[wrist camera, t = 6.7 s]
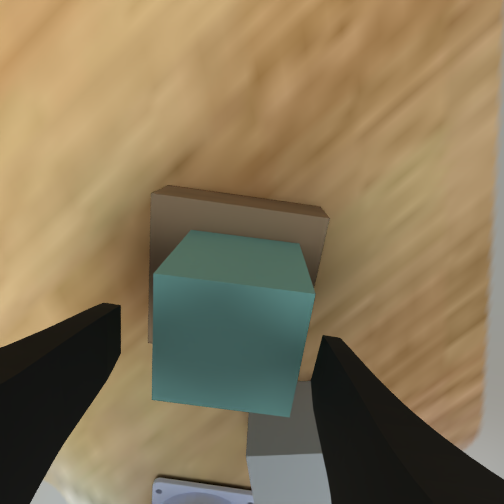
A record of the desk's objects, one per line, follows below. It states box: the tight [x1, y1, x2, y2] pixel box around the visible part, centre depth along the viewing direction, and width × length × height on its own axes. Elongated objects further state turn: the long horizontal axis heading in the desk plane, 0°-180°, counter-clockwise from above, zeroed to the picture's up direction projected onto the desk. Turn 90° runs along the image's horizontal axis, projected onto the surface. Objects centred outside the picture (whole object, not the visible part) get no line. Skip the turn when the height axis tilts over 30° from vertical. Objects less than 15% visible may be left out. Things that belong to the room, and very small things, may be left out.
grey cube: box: [246, 381, 331, 504], centre depth 19 cm, size 5×5×5 cm
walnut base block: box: [148, 185, 330, 344], centre depth 17 cm, size 8×8×3 cm
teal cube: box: [152, 230, 315, 417], centre depth 13 cm, size 5×5×5 cm
